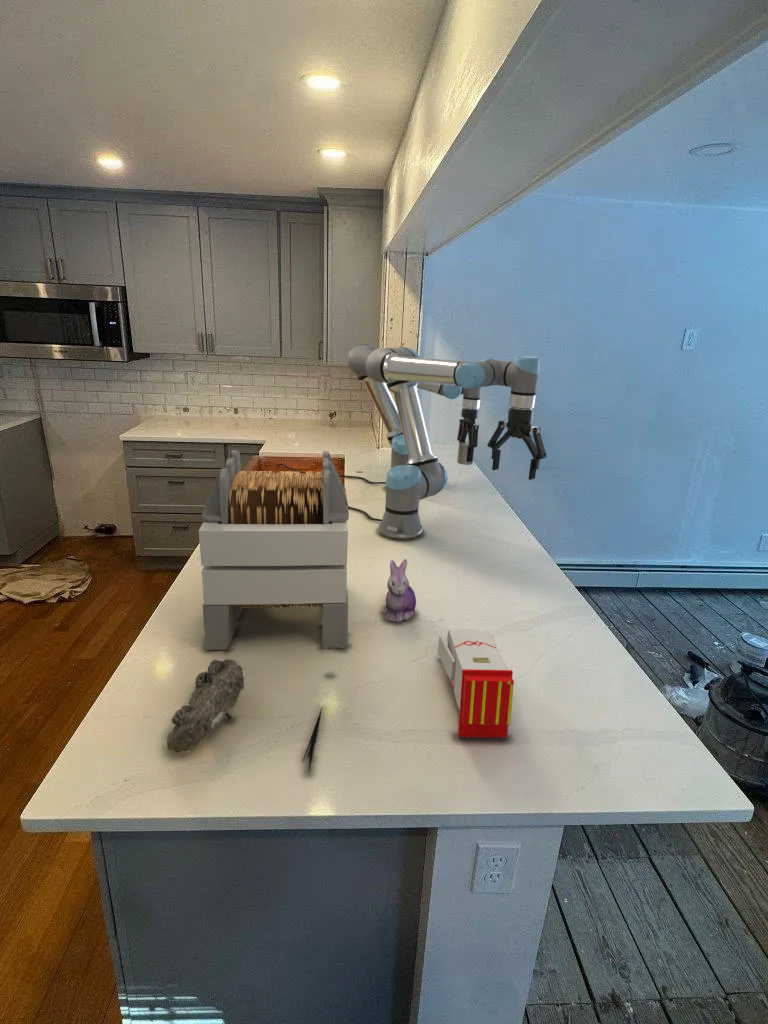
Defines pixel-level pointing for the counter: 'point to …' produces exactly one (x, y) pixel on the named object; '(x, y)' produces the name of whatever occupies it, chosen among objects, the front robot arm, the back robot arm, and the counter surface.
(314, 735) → the feather
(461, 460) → the can
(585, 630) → the counter surface
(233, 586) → the record crate
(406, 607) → the figurine
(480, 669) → the toy
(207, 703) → the fossil
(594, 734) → the counter surface
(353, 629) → the counter surface
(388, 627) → the counter surface
